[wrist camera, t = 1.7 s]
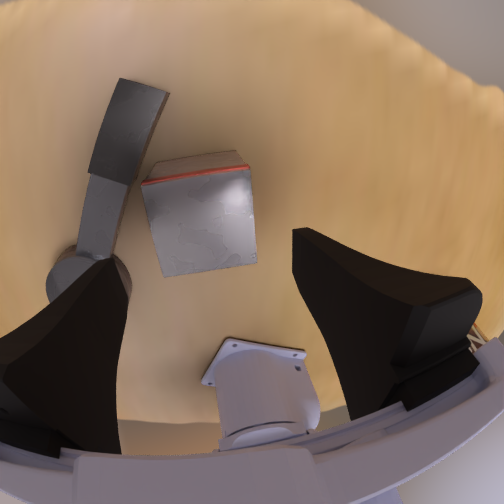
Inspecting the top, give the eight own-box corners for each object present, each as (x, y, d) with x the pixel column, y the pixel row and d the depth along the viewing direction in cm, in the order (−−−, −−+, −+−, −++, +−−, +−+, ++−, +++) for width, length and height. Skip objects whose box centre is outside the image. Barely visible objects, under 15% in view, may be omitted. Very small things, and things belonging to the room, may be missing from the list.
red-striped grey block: (236, 149, 17) (251, 168, 13) (242, 222, 20) (258, 263, 15) (155, 161, 17) (139, 185, 12) (170, 233, 20) (162, 278, 15)
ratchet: (198, 103, 15) (199, 103, 11) (124, 321, 23) (115, 364, 19) (101, 73, 13) (70, 66, 9) (55, 298, 20) (37, 337, 16)
